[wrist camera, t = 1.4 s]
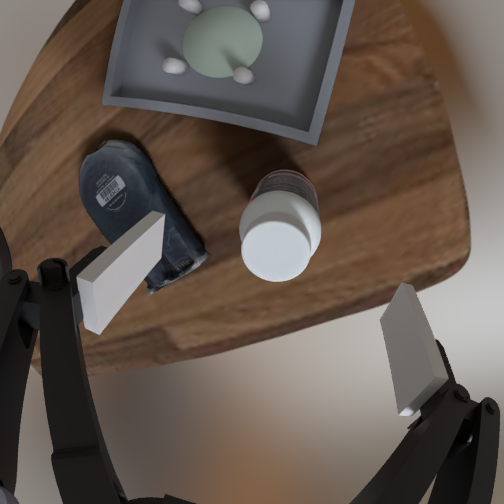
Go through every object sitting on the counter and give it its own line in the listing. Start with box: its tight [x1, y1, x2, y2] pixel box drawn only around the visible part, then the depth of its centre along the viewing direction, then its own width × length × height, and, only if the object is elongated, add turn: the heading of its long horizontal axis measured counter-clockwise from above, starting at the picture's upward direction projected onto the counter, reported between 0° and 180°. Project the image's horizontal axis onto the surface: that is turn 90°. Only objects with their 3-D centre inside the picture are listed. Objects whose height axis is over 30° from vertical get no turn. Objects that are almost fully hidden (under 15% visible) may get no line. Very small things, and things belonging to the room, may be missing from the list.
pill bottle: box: [239, 170, 321, 282], centre depth 21 cm, size 5×5×10 cm
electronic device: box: [79, 139, 210, 295], centre depth 27 cm, size 9×6×15 cm
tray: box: [102, 0, 355, 146], centre depth 18 cm, size 18×13×4 cm
